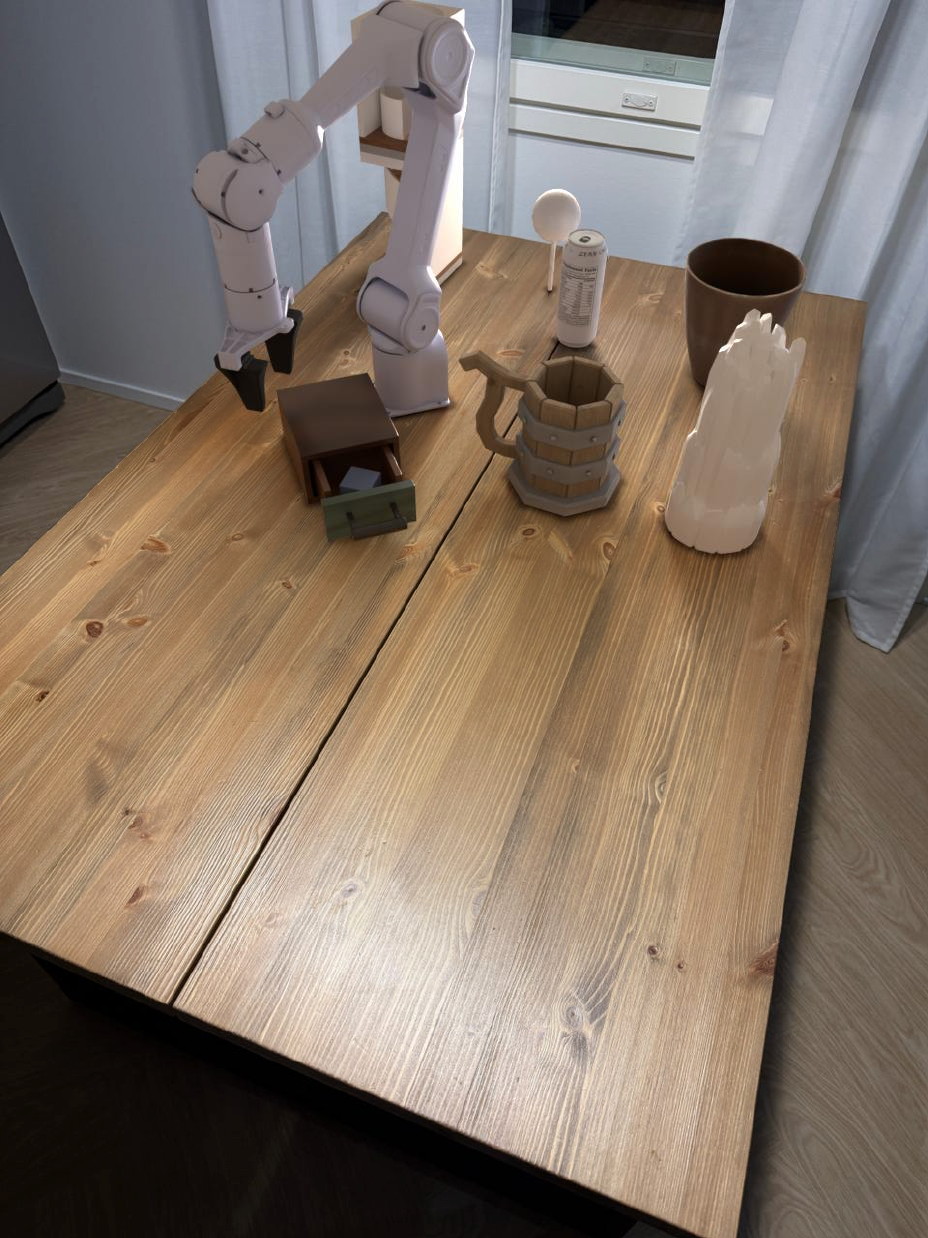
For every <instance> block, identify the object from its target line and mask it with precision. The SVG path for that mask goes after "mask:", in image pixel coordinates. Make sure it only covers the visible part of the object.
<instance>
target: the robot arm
mask: <svg viewBox="0 0 928 1238" xmlns="http://www.w3.org/2000/svg"><path fill="white" fill-rule="evenodd" d="M375 7H376V9H375V10H374V12H373V13H371V14H369V15H368V16H366V17H365V18H363V19H362V21H361V25H360V31H359V35H358V37H357V38H356V39H355V40H354V41H353V43H352V42H351V44H350V45H349V46H348V47H347V48H346V49H345V50H344V51H343V52H342V53H341V54H340V56H338V58H336V60H335V61H334V62H333V63H332V64H331V65H330V66H329V67H328V69H326V71H325V72H324V73H323V74H322V75H321V76H320V77H319V78H318V80H316V82H315V83H314V84H313V85H312V86H311V87H310V88H309V89H308V90H307V91H306V92H305V94H304V95H303V96H301V98H300V99H299V100H292V99H289V98H287V99H286V98H281V99H279V100H278V101H277V102H276V101H274V100H271V101H269V103H268V104H267V105H265V106H264V107H263V111H264V114H263V115H262V116H260V117H259V119H257V121H255V122H254V123H253V124H252V125H250V126H249V128H247V130H246V131H245V132H243V133H242V135H240V136H239V137H234V139H232V140H231V141H230V142H229V144H228V147H227V149H226V150H222V149H219V150H218V151H217V150H213V151H211V152H209V153H207V154H206V155H205V156H204V157H203V158H202V159H201V160H200V161H199V162H198V163H197V165H196V168H195V170H194V174H193V185H191V186H190V187H189V191H190V195H191V197H192V199H193V201H194V202H195V203H196V205H198V207H199V208H201V209H203V211H204V212H205V214H206V217H207V222H208V225H209V228H210V233H211V238H212V243H213V249H214V253H215V257H216V262H217V267H218V272H219V276H220V282H221V286H222V291H223V296H224V300H225V305H226V311H227V315H228V318H227V320H226V326H225V331H224V335H223V341H222V344H221V347H220V348H219V349H218V351H217V353H216V354H215V355H214V356H213V362H214V366H215V368H216V369H217V370H218V371H219V372H220V373H221V374H222V375H223V376H224V377H225V378H226V379H227V380H228V381H229V382H230V384H231V385H232V387H233V388H234V389H235V391H236V393H237V395H238V396H239V398H240V400H241V402H242V404H243V406H244V407H245V409H246V411H251V412H258V413H263V412H264V411H265V409H266V403H267V402H266V389H265V388H266V387H265V379H266V373H267V368H268V365H269V363H270V366H271V368H272V370H273V373H276V374H277V373H278V374H282V375H288V376H291V374H292V373H293V370H294V363H295V362H294V361H295V351H296V343H297V338H298V335H299V331H300V328H301V326H302V323H303V320H304V313H303V311H302V310H300V309H296V308H291V306H293V304H294V303H295V298H294V297H295V296H294V290H293V286H291V285H285V284H280V283H279V281H278V280H279V279H278V275H277V269H276V261H275V255H274V250H273V244H272V236H271V230H270V223H269V222H270V221H271V219H272V218H273V216H274V214H275V211H276V208H277V204H278V200H279V199H280V196H281V195H282V194H283V190H285V187H286V186H287V185H288V184H289V183H290V182H291V181H292V180H294V178H295V177H296V176H297V175H298V174H299V173H301V172H302V170H304V169H305V168H306V167H307V166H308V165H309V164H310V163H311V162H312V161H314V159H315V158H317V156H318V155H320V154H321V152H322V149H323V138H324V132H325V131H327V130H328V129H329V128H330V127H331V126H333V125H334V124H335V123H336V122H338V121H339V120H340V119H341V118H343V117H344V116H345V115H347V114H348V113H349V112H350V111H351V110H352V109H354V108H355V107H357V104H359V103H360V102H361V101H362V100H364V99H365V98H366V97H367V96H369V95H370V94H371V93H372V92H374V91H375V90H376V89H377V88H379V87H380V86H395V87H400V88H401V90H402V91H403V93H404V95H405V97H406V98H407V100H408V102H409V104H410V105H411V107H412V109H413V118H412V123H411V128H410V133H409V138H408V144H407V149H406V154H405V159H404V164H403V169H402V174H401V179H400V184H399V189H398V194H397V199H396V204H395V209H394V214H393V219H392V220H391V224H390V230H389V234H388V235H389V236H388V240H387V246H386V249H385V252H386V255H385V256H384V257H383V258H381V259H379V260H378V261H376V260H375V261H376V262H375V261H374V262H372V263H371V264H369V266H368V270H367V274H366V279H365V280H364V282H363V284H362V286H361V288H360V289H359V291H358V294H357V297H356V305H355V306H356V307H355V308H356V312H357V315H358V318H359V319H360V320H361V321H362V322H364V323H365V324H367V333H368V334H369V335H370V340H371V341H370V343H371V353H372V356H371V357H372V367H373V380H374V381H372V382H373V384H374V386H375V388H376V390H377V392H378V394H379V396H380V398H381V400H382V402H383V404H384V407H385V409H386V411H387V413H388V415H389V417H390V419H391V418H396V417H402V416H406V415H411V414H414V413H420V412H425V411H429V410H435V409H440V408H445V407H449V406H450V405H451V400H450V399H449V356H448V350H447V345H446V342H445V339H444V336H443V333H442V332H441V331H440V326H441V319H442V316H441V315H442V314H441V308H440V307H441V301H442V296H443V291H442V288H441V286H440V285H438V283H437V281H436V279H435V277H434V275H433V273H432V271H431V268H430V264H431V260H432V255H433V251H434V247H435V242H436V238H437V233H438V229H439V224H440V220H441V216H442V211H443V207H444V202H445V198H446V194H447V189H448V185H449V180H450V176H451V172H452V167H453V163H454V158H455V154H456V150H457V145H458V141H459V136H460V132H461V127H462V123H463V124H464V119H465V114H466V110H467V109H466V108H467V100H468V96H467V91H468V84H469V80H470V76H471V72H472V67H473V62H474V58H475V53H476V49H475V47H474V45H473V43H472V41H471V38H470V37H469V34H468V32H467V30H466V28H465V25H464V26H463V25H462V24H461V23H460V22H459V21H458V20H456V19H454V18H448V17H442V16H439V15H436V14H434V13H431V12H428V11H425V10H422V9H419V8H416V7H413V6H410V5H407V4H405V3H404V2H402V1H401V0H383V1H382V2H379V4H378V5H377V6H375ZM263 343H264V345H265V348H266V351H267V355H268V359H269V360H267V359H261V358H255V354H252V353H251V350H253V349H254V348H256V347H258V346H259V345H261V344H263Z"/></svg>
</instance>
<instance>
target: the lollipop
mask: <svg viewBox="0 0 928 1238" xmlns="http://www.w3.org/2000/svg"><path fill="white" fill-rule="evenodd" d="M581 213H582V212H581V207H580V204H579V202H578V200H577V198H576V197H575V196H574V195H573V194H572V193H570V192H569V191H567V190H565V189H560V188H554V189H549V190H547V191H545V192H543V193H542V194H540V196H539V197H538V198H537V199H536V201H535V203H534V205H533V206H532V212H531V223H532V227H533V229H534V231H535V233H536V234H537V236H538V237H540V238H541V239H542V240H544V241H546V242H549V243H551V245H550V257H549V270H548V278H547V279H548V280H547V290H548V291H552V290H553V281H554V271H555V259H556V248H557V243H562V242H565V241H567V240H568V238H569V234H570V233H571V232H573V231H575V230H578V228H579V225H580V223H581V216H582V215H581Z"/></svg>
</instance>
